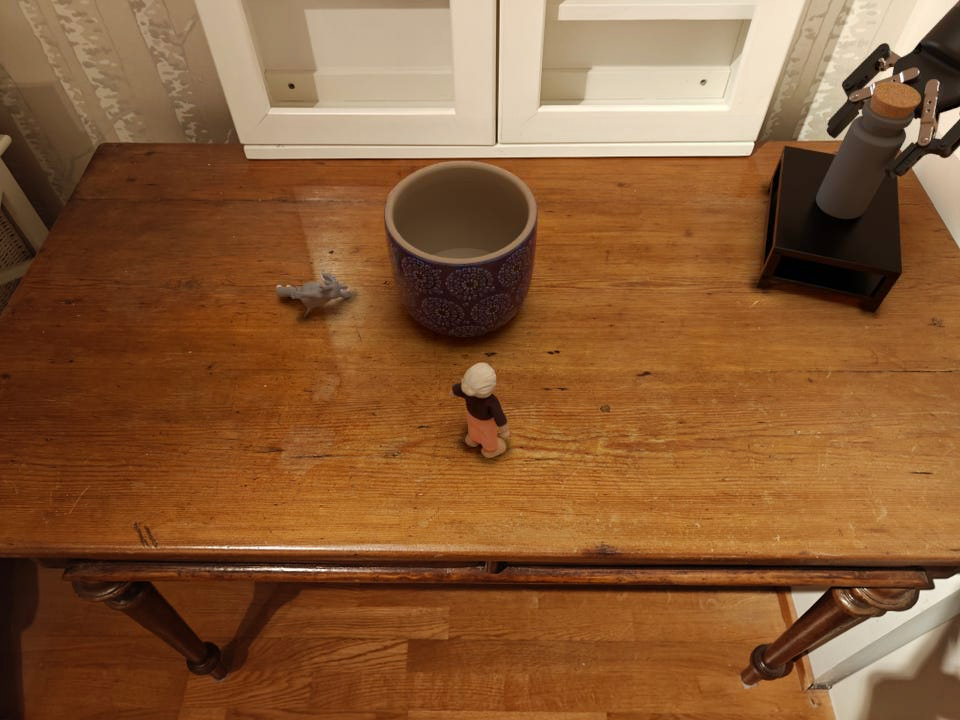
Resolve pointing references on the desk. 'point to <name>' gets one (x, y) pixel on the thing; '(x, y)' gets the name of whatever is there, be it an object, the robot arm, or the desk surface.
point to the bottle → (868, 150)
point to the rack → (829, 235)
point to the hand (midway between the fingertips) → (858, 154)
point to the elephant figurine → (315, 291)
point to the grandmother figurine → (482, 410)
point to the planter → (461, 245)
